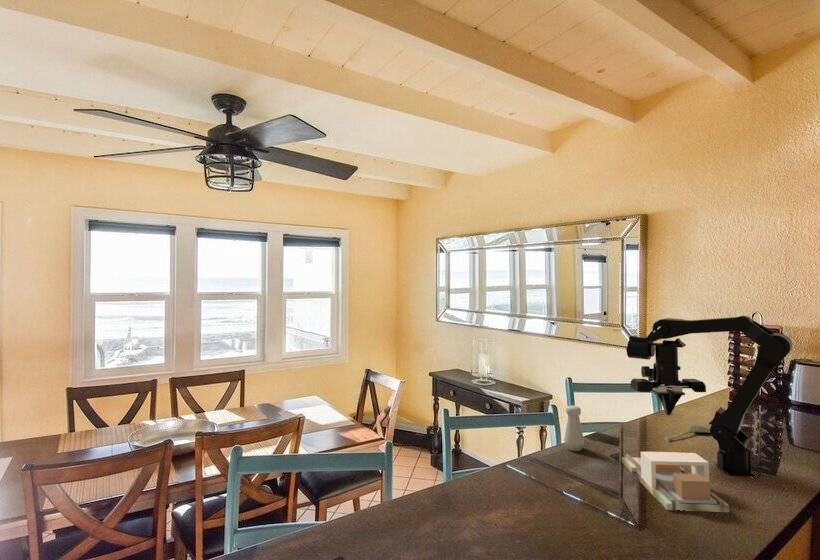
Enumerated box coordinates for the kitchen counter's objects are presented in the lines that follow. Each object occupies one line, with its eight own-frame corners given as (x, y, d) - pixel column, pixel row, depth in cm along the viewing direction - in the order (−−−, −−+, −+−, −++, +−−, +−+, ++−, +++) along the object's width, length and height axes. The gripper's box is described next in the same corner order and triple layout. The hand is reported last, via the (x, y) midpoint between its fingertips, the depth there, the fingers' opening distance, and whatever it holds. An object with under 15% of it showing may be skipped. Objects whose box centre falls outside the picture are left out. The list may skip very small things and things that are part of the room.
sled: (676, 470, 114) (676, 452, 114) (716, 503, 96) (716, 481, 97) (644, 469, 115) (644, 451, 115) (678, 502, 97) (677, 480, 97)
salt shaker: (585, 452, 131) (584, 409, 132) (565, 451, 133) (564, 408, 133) (582, 445, 137) (581, 404, 137) (563, 444, 138) (562, 403, 138)
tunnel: (695, 478, 110) (694, 452, 110) (709, 489, 104) (708, 462, 104) (641, 477, 111) (640, 451, 111) (651, 487, 105) (651, 461, 105)
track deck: (670, 463, 122) (670, 455, 122) (729, 512, 96) (729, 501, 96) (621, 462, 124) (621, 454, 124) (666, 510, 97) (666, 499, 97)
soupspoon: (718, 437, 146) (698, 432, 152) (717, 426, 147) (697, 422, 153) (676, 445, 137) (656, 440, 143) (675, 434, 137) (656, 429, 143)
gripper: (685, 356, 136) (686, 407, 135) (622, 357, 137) (624, 406, 137) (706, 363, 125) (707, 418, 124) (637, 363, 126) (639, 417, 126)
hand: (668, 414), depth 128 cm, fingers closed
